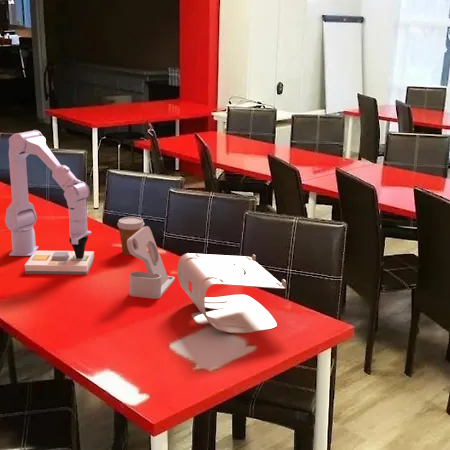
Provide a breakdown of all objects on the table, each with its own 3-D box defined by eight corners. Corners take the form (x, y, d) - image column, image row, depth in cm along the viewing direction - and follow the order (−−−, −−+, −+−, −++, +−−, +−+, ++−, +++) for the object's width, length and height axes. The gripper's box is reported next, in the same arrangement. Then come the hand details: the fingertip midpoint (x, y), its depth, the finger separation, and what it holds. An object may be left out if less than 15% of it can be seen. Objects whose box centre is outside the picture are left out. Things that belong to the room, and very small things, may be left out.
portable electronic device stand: (176, 302, 192) (176, 253, 187) (249, 292, 200) (251, 245, 195) (204, 340, 169) (205, 286, 164) (285, 328, 177) (288, 275, 173)
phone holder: (158, 299, 193) (157, 242, 188) (126, 295, 195) (125, 239, 190) (175, 278, 209) (175, 225, 204) (146, 275, 212) (145, 222, 206)
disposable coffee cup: (112, 253, 230) (111, 221, 227) (128, 246, 238) (127, 215, 235) (134, 258, 226) (134, 225, 223) (150, 250, 234) (149, 219, 231)
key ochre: (36, 260, 219) (35, 254, 218) (49, 260, 219) (48, 255, 218) (32, 265, 215) (32, 259, 214) (46, 265, 215) (45, 259, 214)
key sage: (74, 260, 219) (74, 255, 219) (87, 261, 219) (87, 255, 219) (72, 265, 215) (71, 259, 214) (85, 265, 215) (85, 260, 215)
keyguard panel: (36, 258, 224) (35, 249, 223) (94, 259, 224) (93, 250, 223) (25, 273, 210) (24, 264, 209) (86, 274, 211) (86, 265, 210)
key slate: (55, 257, 219) (55, 251, 218) (68, 257, 219) (68, 251, 218) (52, 261, 214) (52, 256, 214) (65, 262, 215) (65, 256, 214)
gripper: (86, 225, 206) (88, 265, 210) (94, 213, 220) (95, 250, 224) (64, 225, 206) (66, 265, 210) (73, 212, 219) (75, 250, 223)
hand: (79, 257), depth 217 cm, fingers closed, pressing on key sage
